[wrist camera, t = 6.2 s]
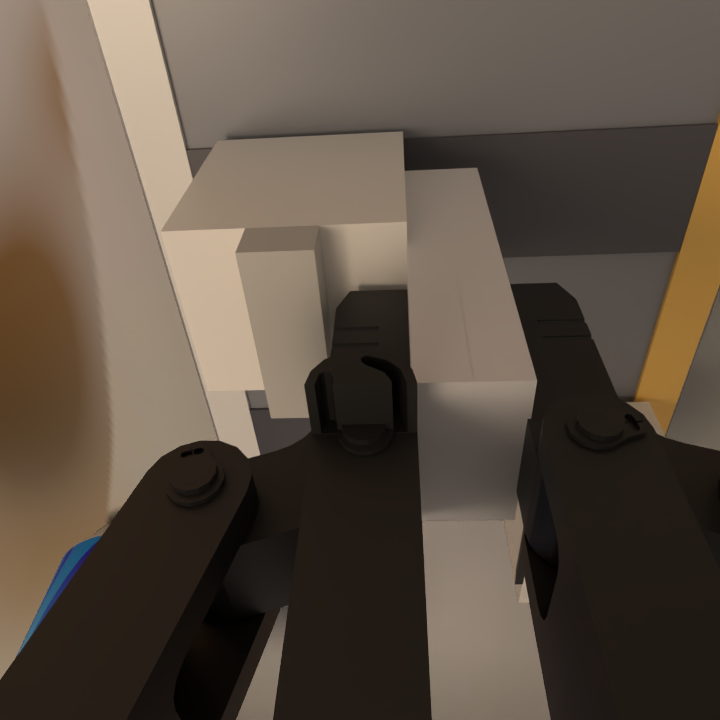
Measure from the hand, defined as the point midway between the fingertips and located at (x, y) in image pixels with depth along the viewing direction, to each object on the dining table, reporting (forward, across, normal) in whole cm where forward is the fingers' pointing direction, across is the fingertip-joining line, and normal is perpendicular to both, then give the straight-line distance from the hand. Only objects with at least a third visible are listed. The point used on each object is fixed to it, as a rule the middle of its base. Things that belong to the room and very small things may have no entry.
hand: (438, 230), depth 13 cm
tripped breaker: (+1, -3, 0) cm, 3 cm away
